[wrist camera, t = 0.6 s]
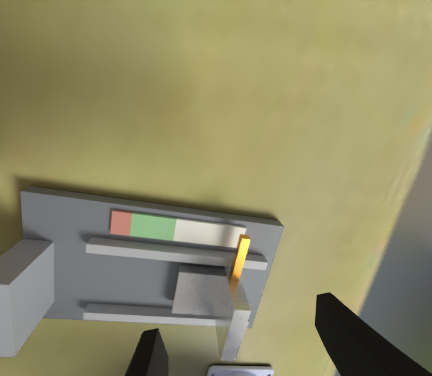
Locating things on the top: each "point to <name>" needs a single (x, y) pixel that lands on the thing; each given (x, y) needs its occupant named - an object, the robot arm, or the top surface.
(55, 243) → the gauge base
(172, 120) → the top surface
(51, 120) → the top surface
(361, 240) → the top surface
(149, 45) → the top surface
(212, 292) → the gauge pointer slider
